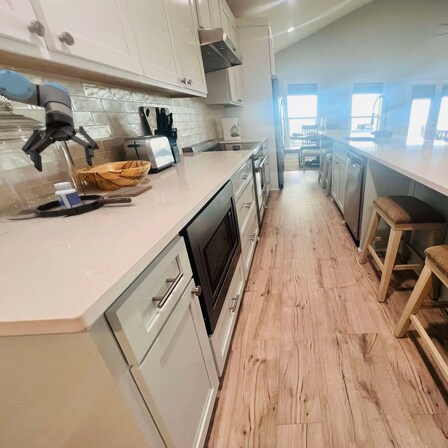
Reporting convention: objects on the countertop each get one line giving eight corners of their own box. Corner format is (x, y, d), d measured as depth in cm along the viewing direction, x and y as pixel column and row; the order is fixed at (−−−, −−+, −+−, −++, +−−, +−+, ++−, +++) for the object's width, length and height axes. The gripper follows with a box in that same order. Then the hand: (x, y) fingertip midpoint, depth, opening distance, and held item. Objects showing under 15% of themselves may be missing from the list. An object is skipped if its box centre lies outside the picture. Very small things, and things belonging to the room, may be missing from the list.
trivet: (104, 198, 92) (103, 195, 91) (123, 189, 103) (122, 187, 102) (136, 196, 92) (135, 193, 92) (152, 188, 103) (151, 185, 103)
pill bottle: (86, 205, 84) (75, 180, 80) (81, 210, 80) (69, 183, 76) (66, 208, 82) (55, 182, 78) (60, 213, 78) (47, 186, 74)
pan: (22, 220, 73) (17, 211, 72) (68, 202, 88) (65, 195, 87) (117, 214, 74) (113, 206, 72) (146, 198, 89) (144, 190, 88)
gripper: (104, 125, 97) (112, 168, 91) (20, 129, 86) (22, 178, 80) (97, 110, 90) (104, 155, 84) (4, 112, 80) (6, 164, 74)
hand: (64, 166), depth 82 cm, fingers open, 13 cm apart
